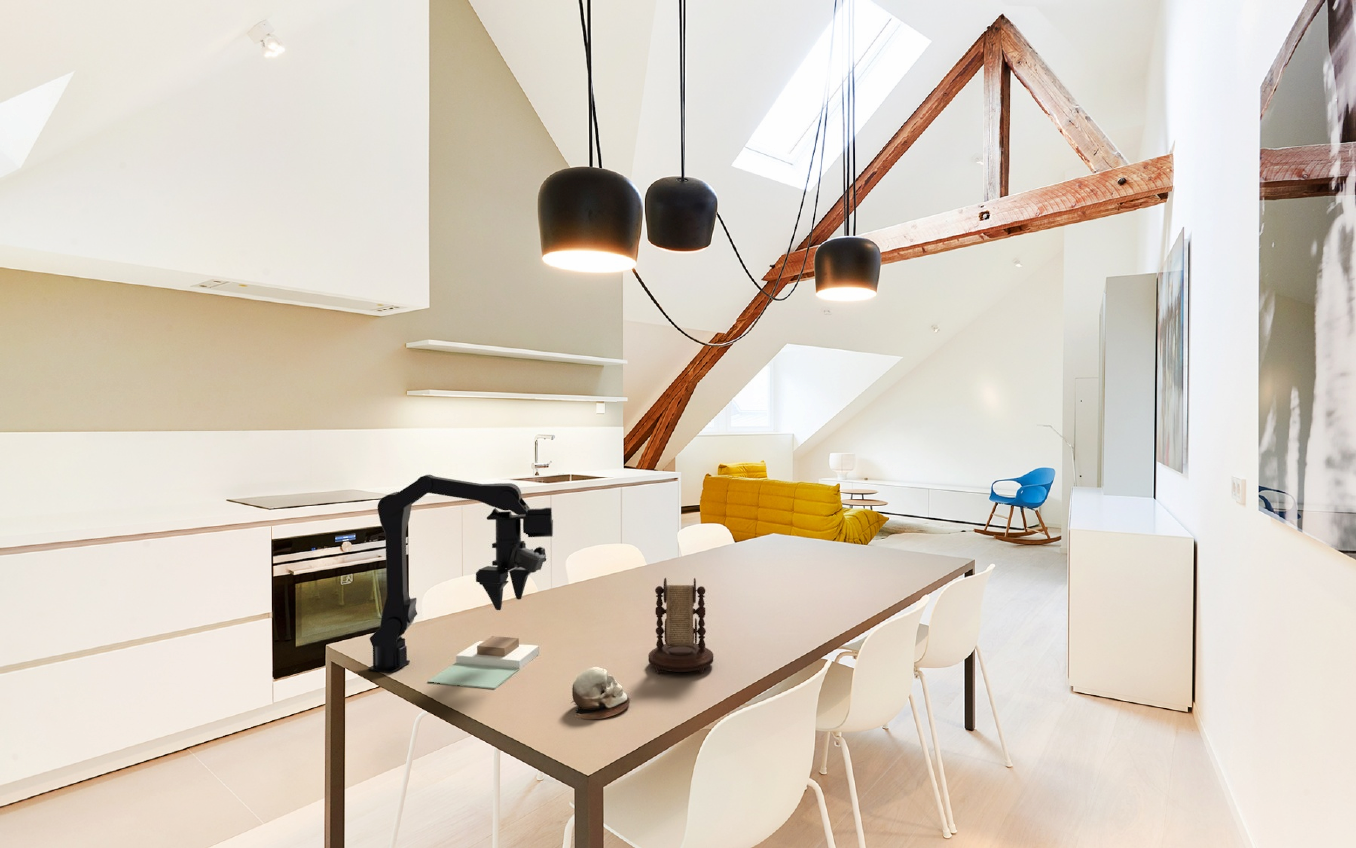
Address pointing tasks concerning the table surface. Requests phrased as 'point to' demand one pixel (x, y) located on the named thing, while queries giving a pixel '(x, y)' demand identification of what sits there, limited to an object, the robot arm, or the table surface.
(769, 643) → the table surface
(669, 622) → the scroll
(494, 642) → the tile
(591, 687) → the skull
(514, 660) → the plate
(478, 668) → the mat
